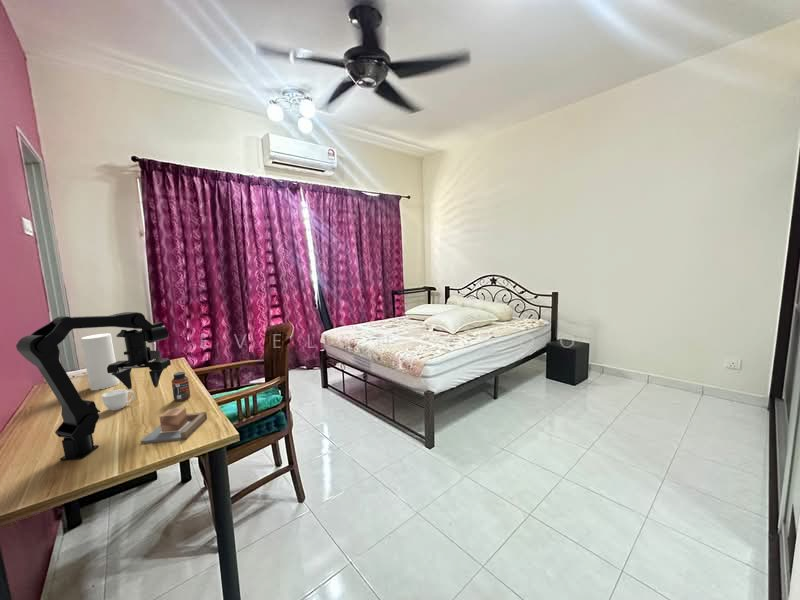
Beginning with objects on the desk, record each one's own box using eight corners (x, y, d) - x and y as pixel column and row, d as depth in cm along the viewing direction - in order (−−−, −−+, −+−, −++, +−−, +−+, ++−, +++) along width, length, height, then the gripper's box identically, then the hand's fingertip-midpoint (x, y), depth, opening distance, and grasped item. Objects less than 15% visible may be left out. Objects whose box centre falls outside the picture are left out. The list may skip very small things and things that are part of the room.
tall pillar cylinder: (125, 381, 165) (116, 333, 161) (103, 390, 154) (93, 338, 151) (106, 381, 166) (98, 333, 163) (84, 390, 156) (74, 339, 152)
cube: (187, 422, 117) (185, 407, 117) (178, 430, 112) (176, 415, 111) (171, 423, 117) (169, 409, 116) (161, 431, 112) (159, 416, 111)
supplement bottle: (182, 402, 137) (178, 376, 136) (170, 401, 138) (166, 375, 137) (194, 395, 143) (190, 371, 141) (182, 395, 144) (178, 370, 143)
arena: (186, 439, 108) (185, 432, 107) (141, 443, 107) (139, 436, 106) (207, 418, 122) (206, 412, 121) (167, 421, 120) (166, 415, 120)
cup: (103, 409, 134) (100, 393, 133) (134, 400, 141) (131, 385, 140) (106, 414, 129) (103, 398, 128) (138, 405, 136) (135, 389, 135)
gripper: (177, 339, 126) (182, 378, 128) (126, 342, 125) (133, 381, 127) (157, 347, 115) (163, 389, 117) (102, 350, 114) (109, 393, 116)
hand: (143, 387), depth 120 cm, fingers open, 9 cm apart
